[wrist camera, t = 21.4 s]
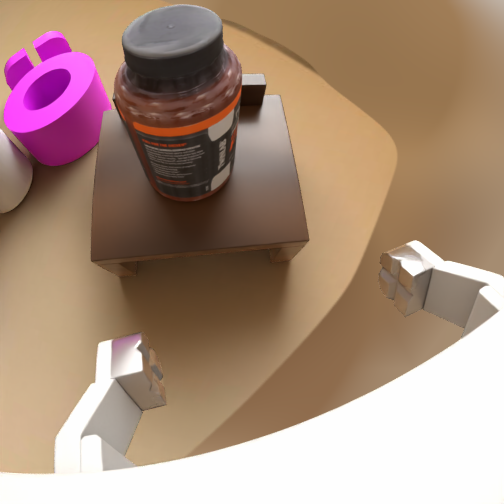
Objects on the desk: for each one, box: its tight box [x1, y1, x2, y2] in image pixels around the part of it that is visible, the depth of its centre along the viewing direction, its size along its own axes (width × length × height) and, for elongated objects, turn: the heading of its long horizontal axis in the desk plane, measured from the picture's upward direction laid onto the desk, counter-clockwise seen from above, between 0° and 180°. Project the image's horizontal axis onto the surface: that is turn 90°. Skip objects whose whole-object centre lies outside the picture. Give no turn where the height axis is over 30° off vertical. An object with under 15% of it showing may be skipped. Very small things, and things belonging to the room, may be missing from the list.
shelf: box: [91, 74, 309, 277], centre depth 22 cm, size 12×14×8 cm
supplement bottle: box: [114, 5, 242, 202], centre depth 15 cm, size 6×6×11 cm
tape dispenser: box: [4, 31, 112, 166], centre depth 24 cm, size 16×10×6 cm, turn 38°
